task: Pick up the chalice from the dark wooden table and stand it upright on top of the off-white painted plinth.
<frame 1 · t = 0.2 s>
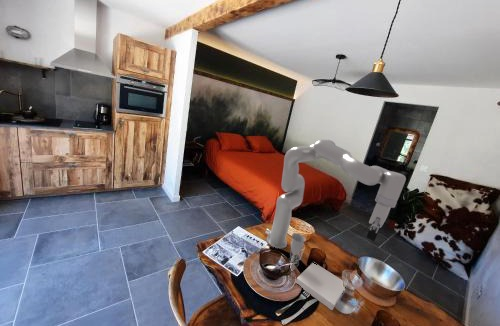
hand: (372, 235, 96), 31 cm above the table, fingers open, 9 cm apart
chalice: (290, 268, 112), on the table
plinth: (320, 286, 104), on the table
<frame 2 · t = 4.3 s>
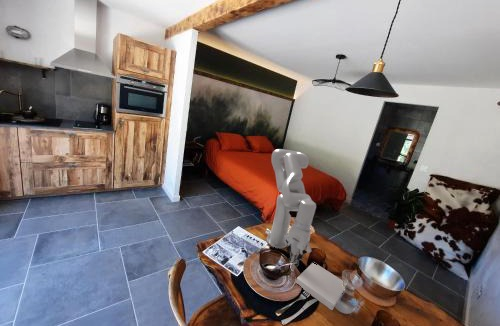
hand: (293, 255, 110), 8 cm above the table, fingers closed on chalice, 5 cm apart
chalice: (290, 268, 112), on the table, touching gripper
when the fingers open (12 cm above the table, at t = 11.3 s): chalice drops 1 cm, resting on plinth.
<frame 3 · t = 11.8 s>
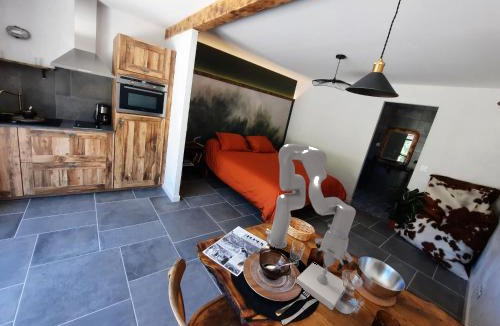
hand: (328, 263, 100), 13 cm above the table, fingers open, 9 cm apart
chalice: (322, 281, 103), point 3 cm above the table, touching plinth
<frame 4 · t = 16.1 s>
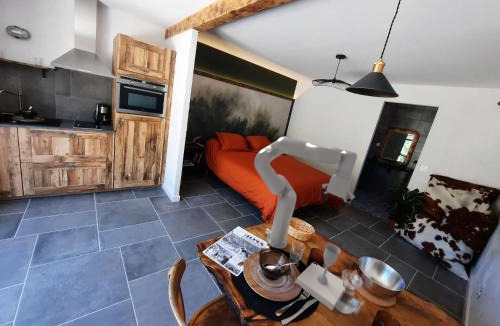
hand: (333, 204, 117), 33 cm above the table, fingers open, 9 cm apart
nothing on the table moved.
at the end: chalice inside the target area on the plinth (0.2 cm from its centre), point 2.8 cm above the plinth's base; chalice tilted 0°; the gripper is holding nothing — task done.
